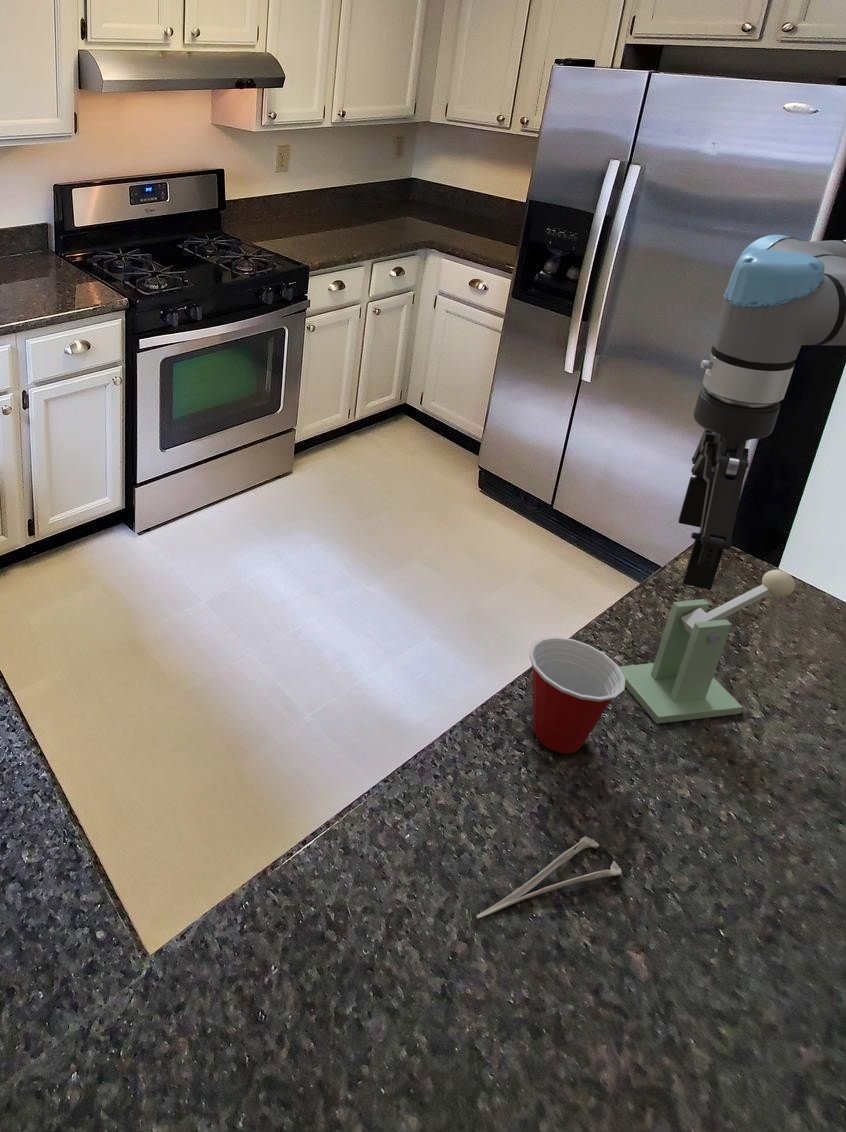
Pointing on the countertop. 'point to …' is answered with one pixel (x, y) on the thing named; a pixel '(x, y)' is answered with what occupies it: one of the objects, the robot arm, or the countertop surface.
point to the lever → (744, 598)
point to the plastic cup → (570, 691)
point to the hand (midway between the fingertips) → (693, 553)
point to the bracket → (684, 671)
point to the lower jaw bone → (564, 857)
